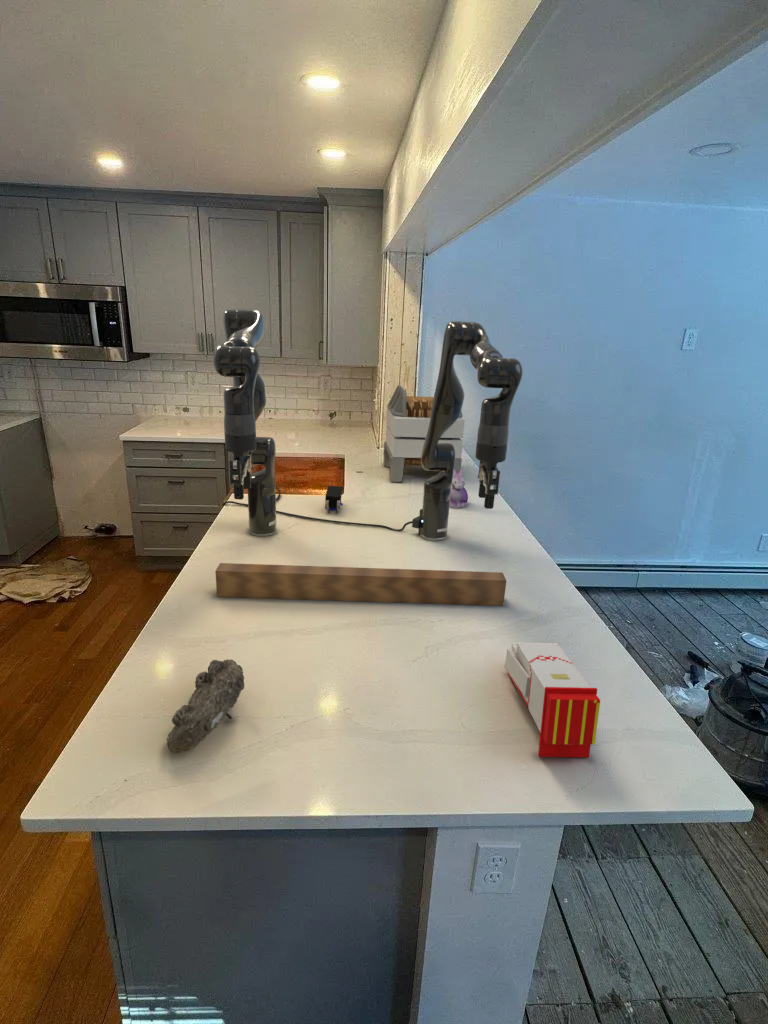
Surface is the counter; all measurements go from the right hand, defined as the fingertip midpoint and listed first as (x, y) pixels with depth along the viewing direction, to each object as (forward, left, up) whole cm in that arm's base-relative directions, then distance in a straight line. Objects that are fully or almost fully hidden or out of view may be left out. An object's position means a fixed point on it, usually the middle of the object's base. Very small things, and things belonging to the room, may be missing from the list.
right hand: (485, 502), depth 146 cm
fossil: (-18, -74, -29) cm, 81 cm away
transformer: (-80, +99, -29) cm, 130 cm away
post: (-25, -18, -29) cm, 42 cm away
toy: (+31, -32, -29) cm, 53 cm away
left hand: (-50, -37, 0) cm, 62 cm away
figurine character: (-77, +31, -29) cm, 88 cm away
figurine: (-43, +69, -29) cm, 87 cm away
